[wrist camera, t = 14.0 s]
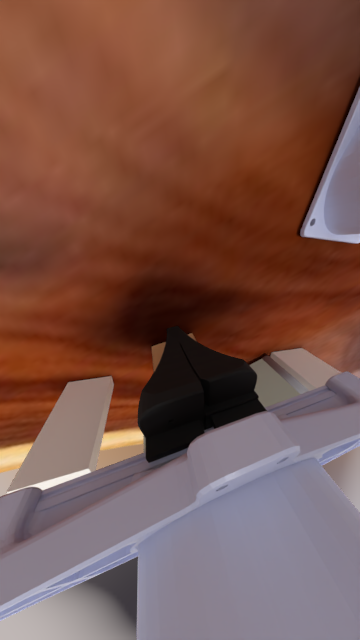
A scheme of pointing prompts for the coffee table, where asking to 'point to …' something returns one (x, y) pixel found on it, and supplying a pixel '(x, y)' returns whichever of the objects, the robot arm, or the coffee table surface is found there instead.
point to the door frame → (90, 418)
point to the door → (273, 383)
